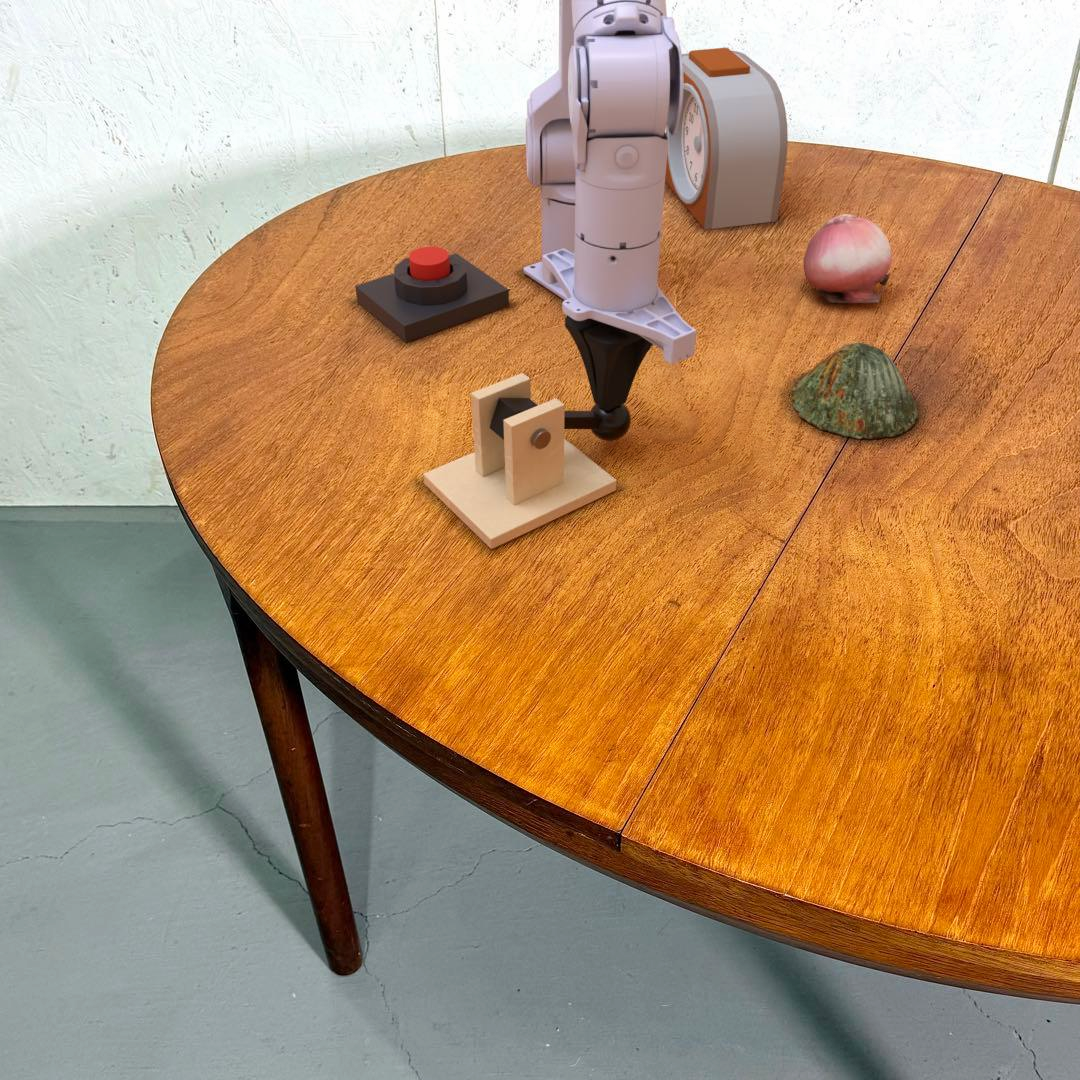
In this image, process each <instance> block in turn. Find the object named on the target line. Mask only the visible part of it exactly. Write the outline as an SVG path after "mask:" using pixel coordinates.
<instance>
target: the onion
mask: <svg viewBox="0 0 1080 1080" xmlns="http://www.w3.org/2000/svg"><path fill="white" fill-rule="evenodd" d="M892 261H893V252H892V247H891V244H890V242H889V240H888V238H887V236H886V234H885V233H884V231H883V230H882V229H881V228H880V227H879V226H878V225H877V224H876V223H874V222H873V221H871V220H869V219H866V218H865V217H864V218H863V217H858V216H857V215H854V214H849V213H843V214H840V215H837V216H834V217H832V218H830V219H829V220H828V221H826V222H825V223H824V225H822V227H821V228H820V229H818V230H817V231H816V232H815V233H814V234H813V236H812V237H811V238H810V240H809V242H808V244H807V246H806V250H805V253H804V259H803V272H804V276H805V278H806V280H807V281H808V283H809V284H810V285H811V286H812V287H813V288H814V289H816V290H817V292H818V293H819V294H820V295H821V296H822V297H823V298H824V299H825V300H827V302H829V303H833V304H834V303H835V304H878V303H879V301H880V299H881V297H882V294H883V292H884V287H886V284H887V283H888V281H889V279H890V277H891V274H892V273H891V272H889V271H890V268H891V265H892ZM878 284H879V285H880V286H881V290H880V291H874V288H875V287H876V285H878Z"/></svg>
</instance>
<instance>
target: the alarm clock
mask: <svg viewBox="0 0 1080 1080" xmlns="http://www.w3.org/2000/svg"><path fill="white" fill-rule="evenodd" d="M681 54H682V61H683V78H684V83H683V101H682V109H681V114H680V119H679V124H678V128H677V131H676V133H675V135H671V134H670V132H669V129H668V124H667V125H666V130H665V133H666V134H667V136H668V150H667V163H666V175H665V184H667V185H668V187H669V188H670V190H672V192H673V193H674V194H675V195H676V196H677V198H678V199H679V200H680V201H681V203H682V204H683V205H684V207H685V208H686V209H687V210H688V211H689V212H690V213H691V215H692V216H693V217H694V218H695V220H696V221H697V222H698V223H699V225H700V226H701V227H702V228H703V230H704V231H705V230H706V231H709V230H715V229H723V228H731V227H739V226H749V225H757V224H765V223H766V224H767V223H773V222H777V221H778V218H779V212H780V204H781V200H782V199H781V198H782V192H783V184H784V178H785V171H786V164H787V157H788V156H787V155H788V145H789V140H788V139H789V138H788V137H789V134H788V121H787V113H786V106H785V103H784V99H783V95H782V92H781V89H780V87H779V86H778V83H777V82H776V80H775V79H774V77H772V75H771V74H770V73H769V72H768V71H766V70H765V69H764V68H763V67H761V66H760V65H759V64H758V63H757V62H755V61H754V60H753V59H752V58H750V57H749V56H748V55H747V54H745V53H744V52H740V51H737V50H731V49H730V48H728V47H717V48H706V49H695V50H690V51H689V52H688V53H681Z"/></svg>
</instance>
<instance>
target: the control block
mask: <svg viewBox="0 0 1080 1080" xmlns="http://www.w3.org/2000/svg"><path fill="white" fill-rule="evenodd" d="M449 261H450V275H449V276H448V277H445V278H442V279H439V280H433V281H422V280H418V279H413V278H412V277H411V274H410V264H409V256H408V257H405V258H404V259H402V260H401V261H399V262H398V263H397V264H396V265H395V266H394V268H393V273H391V274H388V275H384V276H381V277H378V278H375V279H372V280H368V281H365V282H363V283H360V284H357V285H355V295H356V302H357V303H358V304H359V305H360V306H361V307H363V308H364V309H365V310H366V311H367V312H368V313H370V314H371V315H372V316H374V318H376V319H377V320H378V321H380V322H381V323H382V324H383V325H384V326H385V327H386V328H388V329H389V330H390V331H391V332H393V333H394V334H395V335H396V336H397V337H398V338H400V339H401V340H402V341H403V342H404V343H406V344H407V343H409V342H413V341H415V340H418V339H420V338H424V337H426V336H429V335H431V334H435V333H437V332H440V331H443V330H446V329H448V328H452V327H454V326H456V325H457V326H458V325H460V324H463V323H465V322H468V321H471V320H474V319H476V318H478V317H482V316H485V315H488V314H490V313H493V312H496V311H498V310H501V309H505V308H507V307H510V291H509V288H507V287H506V286H504V285H502V284H501V282H498V281H497V280H496V279H494V278H493V277H491V276H490V275H489V274H487V273H486V272H485V271H483V270H481V269H480V268H479V267H477V266H476V265H474V264H473V263H471V262H470V261H468V260H467V259H465V258H464V257H462V256H461V255H460V254H459V253H452V254H449Z"/></svg>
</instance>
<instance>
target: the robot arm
mask: <svg viewBox="0 0 1080 1080" xmlns="http://www.w3.org/2000/svg"><path fill="white" fill-rule="evenodd" d="M682 54H683V53H682V48H681V41H680V37H679V33H678V32H677V30H676V26H675V19H674V17H673V16H668V13H667V2H666V0H558V70H557V71H556V72H555V73H554V74H552V75H551V76H550V77H549V78H548V79H546V80H545V81H544V82H542V83H541V84H539V85H538V86H537V87H535V88H534V89H533V90H532V91H531V92H530V93H529V98H528V99H527V101H526V119H525V158H526V159H525V160H526V176H527V177H526V178H527V182H528V183H530V184H531V185H532V187H533V188H535V189H536V188H538V189H539V188H540V193H541V195H540V197H541V261H538V262H535V263H533V264H530V265H526V266H524V267H523V274H524V275H527V276H528V277H529V278H531V279H532V280H533V281H535V282H537V283H538V284H539V285H541V286H543V287H544V288H546V289H547V290H549V291H550V292H552V293H553V294H555V295H556V296H558V297H559V298H561V299H562V300H563V301H562V303H561V311H562V313H563V314H564V315H566V316H565V318H564V328H565V329H566V331H567V332H568V333H569V334H570V335H569V336H570V337H571V338H572V339H573V341H574V343H575V346H576V348H577V350H578V352H579V354H580V357H581V359H582V362H583V365H584V369H585V371H586V376H587V379H588V385H589V387H590V392H591V396H592V400H593V402H594V405H595V404H596V405H598V406H599V407H600V408H602V409H603V410H604V411H608V410H610V409H612V408H615V407H617V406H619V405H622V404H626V403H627V400H628V397H629V394H630V392H631V389H632V386H633V384H634V381H635V378H636V376H637V373H638V371H639V369H640V366H641V364H642V363H643V360H645V357H646V356H647V354H648V353H649V351H650V349H651V348H652V347H653V346H654V347H656V348H658V349H660V350H661V351H662V359H663V360H664V361H666V362H667V363H668V364H670V365H675V364H676V363H679V362H682V361H685V360H687V359H689V358H692V357H694V356H695V352H696V341H697V332H698V331H697V329H696V328H694V327H693V326H691V325H689V324H688V323H687V322H686V321H685V319H683V318H682V317H681V315H680V313H679V312H678V310H676V308H675V307H674V306H673V304H672V303H671V302H670V300H669V299H668V298H667V296H666V295H665V294H664V292H663V291H662V290H661V289H660V287H659V286H658V285H659V270H660V269H659V268H660V258H661V257H660V256H661V245H662V231H663V230H662V227H663V216H664V215H663V214H664V201H665V187H666V182H665V175H666V163H667V150H668V136H667V134H666V126H667V124H668V129H669V132H670V134H671V135H675V133H676V131H677V128H678V124H679V119H680V114H681V109H682V101H683V83H684V78H683V61H682Z"/></svg>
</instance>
